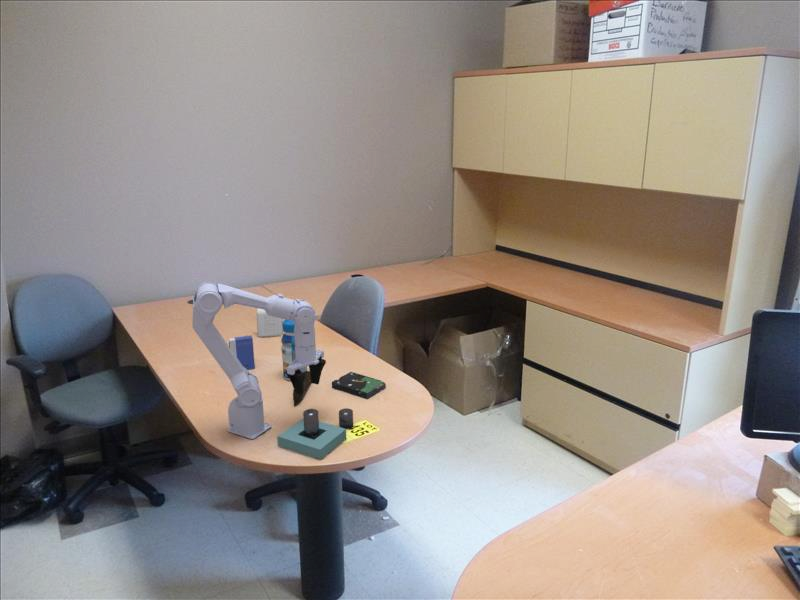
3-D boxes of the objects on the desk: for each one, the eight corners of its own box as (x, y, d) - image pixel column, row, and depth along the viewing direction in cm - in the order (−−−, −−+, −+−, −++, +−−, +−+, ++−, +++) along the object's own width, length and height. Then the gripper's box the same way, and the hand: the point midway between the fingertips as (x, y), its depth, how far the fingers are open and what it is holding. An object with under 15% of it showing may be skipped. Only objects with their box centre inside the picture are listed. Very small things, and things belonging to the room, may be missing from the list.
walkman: (253, 365, 209) (251, 334, 205) (254, 368, 207) (252, 336, 203) (230, 369, 206) (227, 337, 202) (232, 372, 204) (229, 340, 200)
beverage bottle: (305, 381, 196) (302, 325, 190) (280, 381, 196) (277, 325, 191) (310, 371, 204) (307, 317, 198) (285, 371, 205) (282, 316, 199)
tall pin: (301, 443, 159) (300, 413, 156) (311, 436, 162) (310, 407, 159) (312, 447, 157) (311, 417, 154) (322, 441, 160) (321, 411, 157)
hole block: (278, 446, 158) (277, 436, 157) (305, 426, 168) (304, 417, 167) (320, 459, 151) (320, 449, 150) (346, 438, 161) (346, 428, 160)
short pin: (336, 427, 167) (336, 413, 166) (344, 421, 171) (343, 407, 169) (348, 430, 166) (348, 416, 164) (355, 424, 169) (355, 410, 168)
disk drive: (331, 390, 192) (367, 401, 184) (330, 382, 191) (367, 392, 183) (350, 378, 200) (386, 388, 192) (350, 371, 199) (386, 381, 191)
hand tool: (302, 380, 198) (302, 368, 196) (314, 381, 197) (313, 368, 196) (286, 407, 180) (285, 393, 178) (298, 407, 179) (298, 394, 178)
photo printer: (283, 332, 242) (281, 304, 238) (283, 336, 238) (281, 307, 234) (257, 334, 240) (255, 305, 236) (257, 338, 236) (255, 308, 232)
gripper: (300, 355, 156) (302, 401, 160) (331, 338, 168) (333, 381, 172) (279, 350, 159) (282, 396, 163) (312, 334, 171) (313, 377, 175)
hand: (307, 388), depth 168 cm, fingers open, 7 cm apart
